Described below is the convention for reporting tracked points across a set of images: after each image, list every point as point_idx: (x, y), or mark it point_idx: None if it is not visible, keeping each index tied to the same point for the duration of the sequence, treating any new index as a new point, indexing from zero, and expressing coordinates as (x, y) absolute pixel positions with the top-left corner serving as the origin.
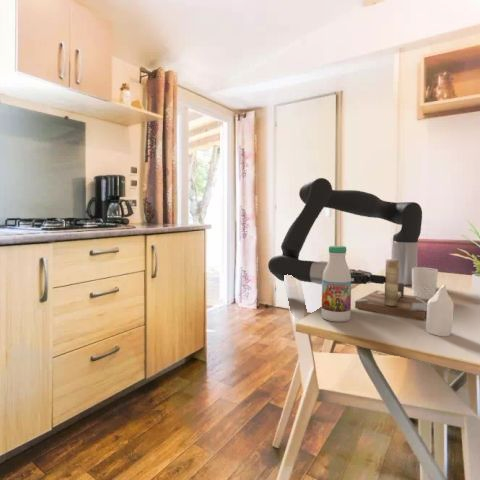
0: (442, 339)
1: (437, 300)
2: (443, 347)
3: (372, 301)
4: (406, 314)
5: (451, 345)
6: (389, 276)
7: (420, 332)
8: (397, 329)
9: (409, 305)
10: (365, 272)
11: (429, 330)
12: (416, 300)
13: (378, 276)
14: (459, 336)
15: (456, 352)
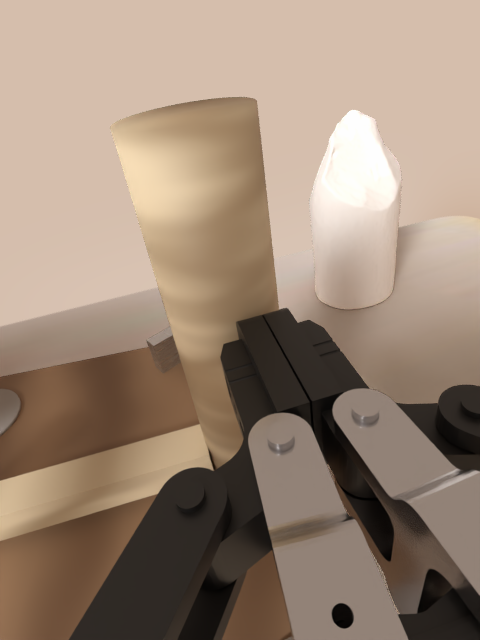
0: (403, 265)
1: (399, 164)
2: (459, 247)
3: (250, 614)
4: None
5: (423, 247)
6: (274, 269)
7: (413, 303)
8: (477, 343)
9: (167, 404)
10: (190, 582)
11: (393, 282)
12: (18, 433)
13: (306, 338)
14: None
15: (456, 231)
